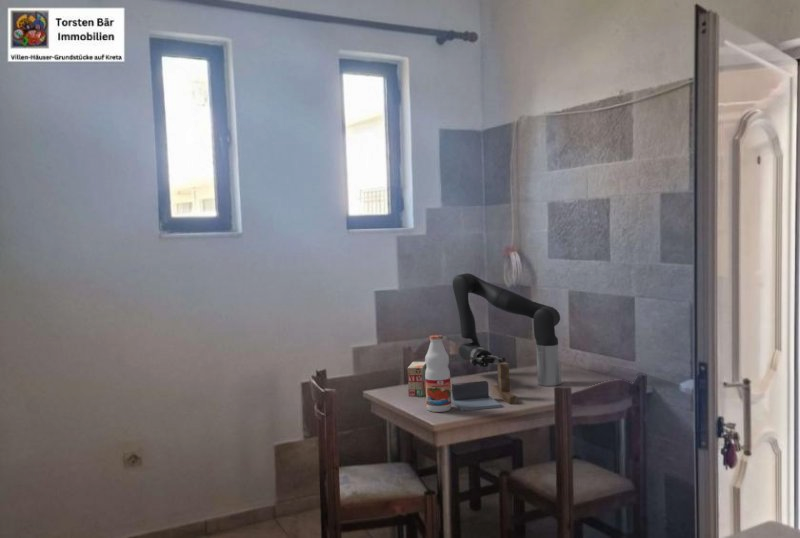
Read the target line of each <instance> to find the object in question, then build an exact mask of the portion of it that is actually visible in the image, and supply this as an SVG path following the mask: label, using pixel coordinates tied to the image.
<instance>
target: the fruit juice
mask: <svg viewBox="0 0 800 538" xmlns="http://www.w3.org/2000/svg"><path fill="white" fill-rule="evenodd" d="M443 339H444V337H443V335H442V334H431V335H429V341H430V343H429V346H428V348H427V349H428V350H427V353H426V354H425V357H424V362H425V363H426V366H427V368H426V371H425V382H426V393H425V402H426V405H425V406H426V410H427V411H429V412H432V413H442V412H448V411H450V410H451V409H452V403H451V392H452V385H451V372H450V368H449V362H450V357H449V354H448V353H447V351H446V349H445V346H444V343H443Z"/></svg>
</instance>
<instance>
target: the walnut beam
mask: <svg viewBox="0 0 800 538" xmlns="http://www.w3.org/2000/svg"><path fill="white" fill-rule="evenodd" d="M496 366H497V384H498V385H497V384H496V385H492V387H491V390H492V391H491V392H492V393H493V394H494V396H495V395H496V396H497V397H498V398H500V399H501V400H503V401H504V402H506V403H507V404H509V405H516V404H518V396H517V395H516V394H514V393H512V392H511V389H510V386H511V385H510V383H511V382H510V363H508V362H506V361H505V362H504V363H497V365H496Z"/></svg>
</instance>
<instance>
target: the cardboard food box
mask: <svg viewBox="0 0 800 538" xmlns="http://www.w3.org/2000/svg"><path fill="white" fill-rule="evenodd" d="M426 368H427V366H426V363H425V361H412V362H411V363H410V365H409V366H408V367H407V382H408V383H407V384H408V388H407V389H408V390H407V391H408V397H424V396H426V382H425V371H426Z"/></svg>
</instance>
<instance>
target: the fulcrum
mask: <svg viewBox="0 0 800 538" xmlns="http://www.w3.org/2000/svg"><path fill="white" fill-rule="evenodd" d="M451 405H453V406H454V407H456V408H457V409H458V410H459V411H460V412H463V411H464V410H465V411H474V410H483V409H485V410H486V409H495V408H502V403H501V402H498V400H496V399H494V398H493V397H491V396H490V394H489V382H488V380H487V381H486V380H482V381H469V382H468V381H467V382H459V383H457V382H456V383H451Z"/></svg>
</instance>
